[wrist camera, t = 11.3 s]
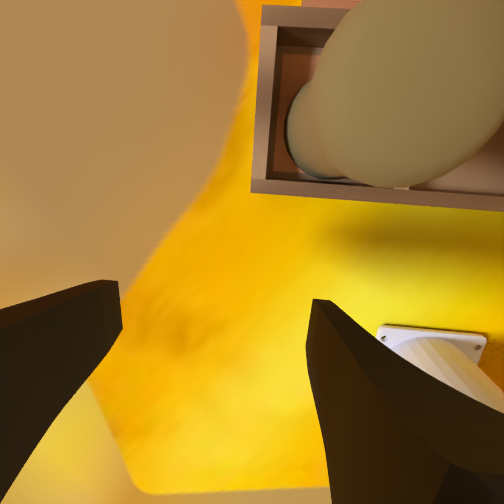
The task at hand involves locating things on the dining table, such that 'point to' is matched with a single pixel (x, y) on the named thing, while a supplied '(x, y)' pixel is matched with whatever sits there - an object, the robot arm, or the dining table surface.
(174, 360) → the dining table surface
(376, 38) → the pepper mill
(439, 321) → the dining table surface
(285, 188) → the spice rack
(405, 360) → the robot arm
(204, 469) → the dining table surface
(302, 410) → the dining table surface
